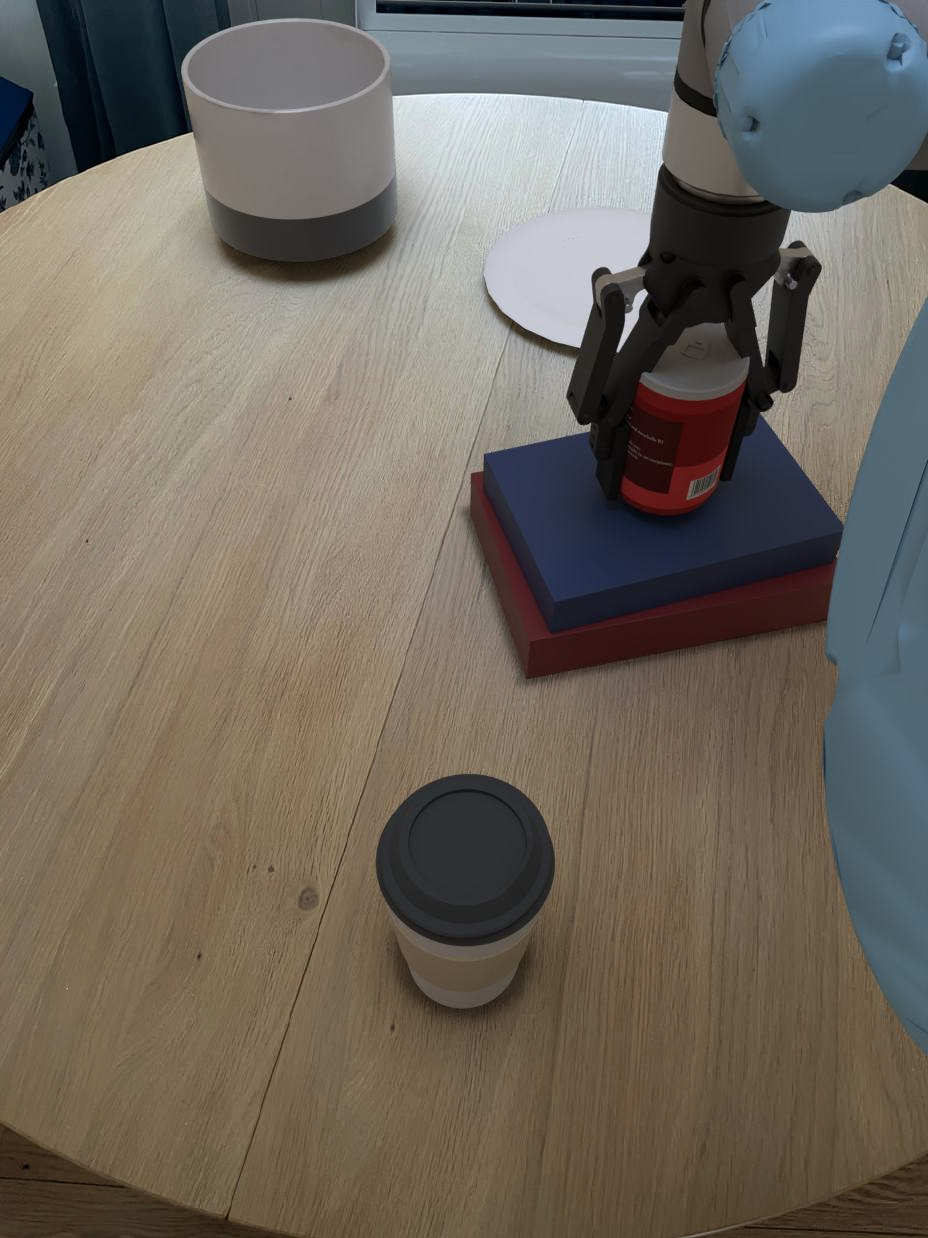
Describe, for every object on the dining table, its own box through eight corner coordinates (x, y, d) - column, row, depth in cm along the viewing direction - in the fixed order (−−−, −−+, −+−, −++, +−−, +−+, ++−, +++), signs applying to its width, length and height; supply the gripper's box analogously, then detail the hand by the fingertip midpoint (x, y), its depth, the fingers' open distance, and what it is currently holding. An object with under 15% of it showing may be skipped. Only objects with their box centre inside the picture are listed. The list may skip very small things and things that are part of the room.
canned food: (720, 450, 76) (754, 323, 68) (712, 527, 71) (747, 401, 63) (616, 434, 77) (637, 306, 69) (601, 508, 72) (621, 381, 64)
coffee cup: (360, 985, 61) (338, 877, 49) (429, 856, 66) (424, 730, 54) (501, 1055, 58) (513, 958, 47) (561, 916, 64) (586, 797, 52)
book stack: (833, 618, 78) (866, 547, 72) (526, 679, 75) (533, 609, 68) (743, 466, 88) (765, 392, 82) (469, 512, 85) (471, 438, 79)
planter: (185, 219, 112) (147, 46, 98) (343, 170, 118) (329, 1, 104) (265, 310, 102) (235, 131, 88) (433, 251, 108) (430, 76, 94)
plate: (785, 314, 102) (789, 299, 101) (574, 397, 94) (576, 382, 93) (633, 196, 115) (635, 181, 114) (437, 260, 107) (437, 245, 106)
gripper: (870, 117, 60) (775, 421, 78) (526, 156, 57) (509, 465, 75) (936, 182, 56) (819, 490, 73) (567, 229, 52) (538, 539, 70)
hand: (663, 477), depth 74 cm, fingers closed on canned food, 8 cm apart
